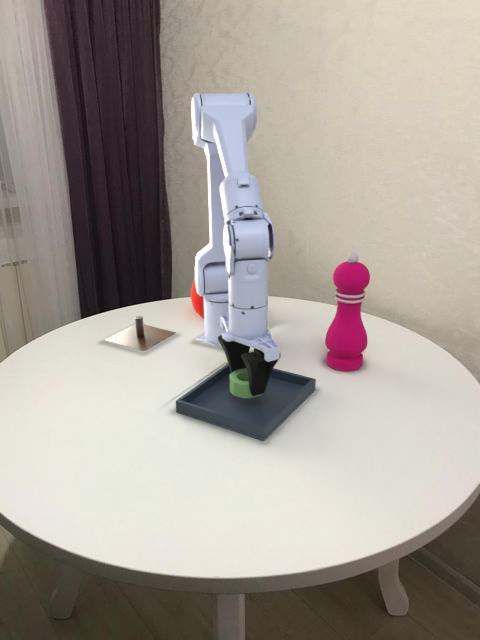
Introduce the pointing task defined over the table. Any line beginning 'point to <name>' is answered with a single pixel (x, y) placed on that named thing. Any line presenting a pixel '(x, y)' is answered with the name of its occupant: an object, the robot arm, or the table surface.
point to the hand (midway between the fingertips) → (248, 385)
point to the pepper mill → (348, 316)
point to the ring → (240, 384)
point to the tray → (246, 402)
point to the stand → (140, 336)
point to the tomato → (197, 300)
